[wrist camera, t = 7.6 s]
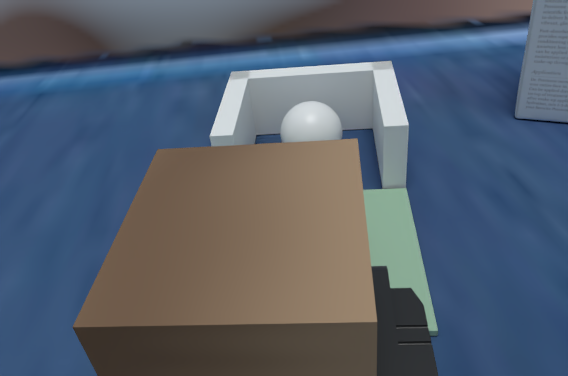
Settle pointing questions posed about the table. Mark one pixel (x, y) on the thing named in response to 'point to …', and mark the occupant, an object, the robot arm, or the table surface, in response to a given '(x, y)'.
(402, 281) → the pale green square plate
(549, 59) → the skincare box
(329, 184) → the brown thin block
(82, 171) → the table surface
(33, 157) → the table surface
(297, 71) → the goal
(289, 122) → the ball
